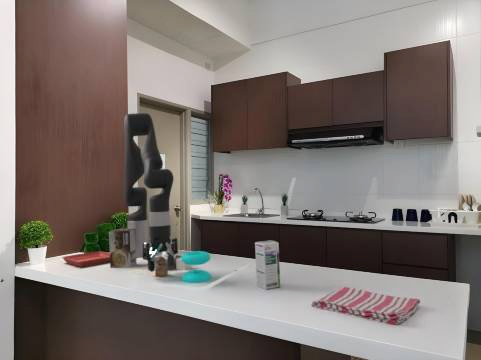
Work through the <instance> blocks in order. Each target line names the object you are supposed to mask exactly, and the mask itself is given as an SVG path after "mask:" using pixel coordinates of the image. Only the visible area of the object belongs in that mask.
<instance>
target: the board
mask: <svg viewBox="0 0 481 360" xmlns="http://www.w3.org/2000/svg"><path fill="white" fill-rule="evenodd" d="M159 257H162V255H159V256H155V258H154V260H153V261H154V269H155V265H156V264H157V259H158V258H159ZM181 257H182V255H180V254H179V255H178V254H176V258H174V264H173V266H172V267H169V266H168V271H171V270H176V259H178V258H181ZM165 260H166V262H165V263H166V264H167V265H168V259H165ZM129 272H130V273H131V272H132V273H137V274H140V275H145V276H149V277H150V276H151V277H154V278H159V279H161V278H166V277H169V276H171V275H170V274H168V276H165V277H156V276H155V271H153V272H151V271H149V270H148V269H147V270H145V269H141V268H135V269H132V270H129Z"/></svg>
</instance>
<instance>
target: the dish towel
mask: <svg viewBox="0 0 481 360" xmlns="http://www.w3.org/2000/svg"><path fill="white" fill-rule="evenodd" d="M420 304H421V299H419V298H412V297H405V296H402V297H400V296H393V295H388V294H383V293H377V292H371V291H367V290H364V289H359V288H355V287H347V286H341V287H339V288H338V289H336V290H334V291H332V292H330V293H328V294H326V295H325V296H323V297H320V298H319V299H317V300H316V299H315V300H313V301H312V302H311V307H313V308H316V309H321V310H326V311H330V312H336V313H338V314H339V313H340V314H345V315H347V316H353V317H357V318H362V319H367V320H369V321H373V322H376V323H377V322H378V323H382V324H388V325H392V326H395V325H399V324H401V323H403V322H404V321H406V320H407V319H408V318H409V317H410V316H411V315H412V314H414V312H415V311H416V309H417V308H418V307H419V306H420Z"/></svg>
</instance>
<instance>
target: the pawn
mask: <svg viewBox="0 0 481 360" xmlns="http://www.w3.org/2000/svg"><path fill="white" fill-rule="evenodd" d="M158 257H159V256H158ZM165 262H166V260H165V258H164V257H159V258H158V259H157V264H156V265H155V268H154V269H155V270H154V272H155V275H154V276H156V277H155V278H158V277H163V278H166V277H169V276H168V275H169V270H168V265H167V264H166V263H165ZM165 276H166V277H165Z"/></svg>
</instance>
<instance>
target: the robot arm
mask: <svg viewBox="0 0 481 360" xmlns="http://www.w3.org/2000/svg"><path fill="white" fill-rule="evenodd" d="M123 120H124V123H123V125H124V140H125V142H124V146H125V149H124V187H123V188H124V189H123V203H124V205H125V206H127V207H130V208H131V207H139V209H138V210H137V211H134V212H131V213H130V214H127V229H135V235H136V258H142V260H145V261H147V271H151V273H152V272H155V268H154V261H153V260H154V258H155V257H157V256H158V254H160V253H161V254H162V253H163V252H166V253H167V255H168V266H169V267H172V266H173V264H174V255H175V254H176V255H178V253H179V249H178V246H179V245H178V238H177V237H171V236H172V235H171V233H172V231H171V230H172V229H171V228H172V227H171V225H172V224H171V213H170V197H171V191H172V188H173V185H174V175H173V172H172V171H171V170H170V169H167V168H163V166H164V164H163V163H164V162H163V159H162V156H161V153H160V151H159V148H158V143H157V136H156V131H155V125H154V122H153V119H152V116H151V114H149V113H144V112H142V113H140V112H139V113H128V114H125V116H124V119H123ZM141 136H142V137H143V136H146V139H145V141H144V143H143V144H142V145H141V148H140V147H139V146H138V144H137V143H136V141H135V139H134V137H141ZM142 177H143V184H144V185H145V187H143V186H139V187H134V185H135V184H136V183H137V182H138V181H139V180H140V179H141V178H142ZM147 188H148V189H152V190H153V189H155V190H156V189H161V191H160V193H158V194H154V195H152V196H150V197H149V216H148V191H147ZM148 217H149V219H148ZM148 222H149V223H148ZM148 224H149V226H148ZM148 227H149V232H148ZM148 233H149V235H148ZM149 239H150V240H149ZM149 241H150V242H149Z"/></svg>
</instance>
